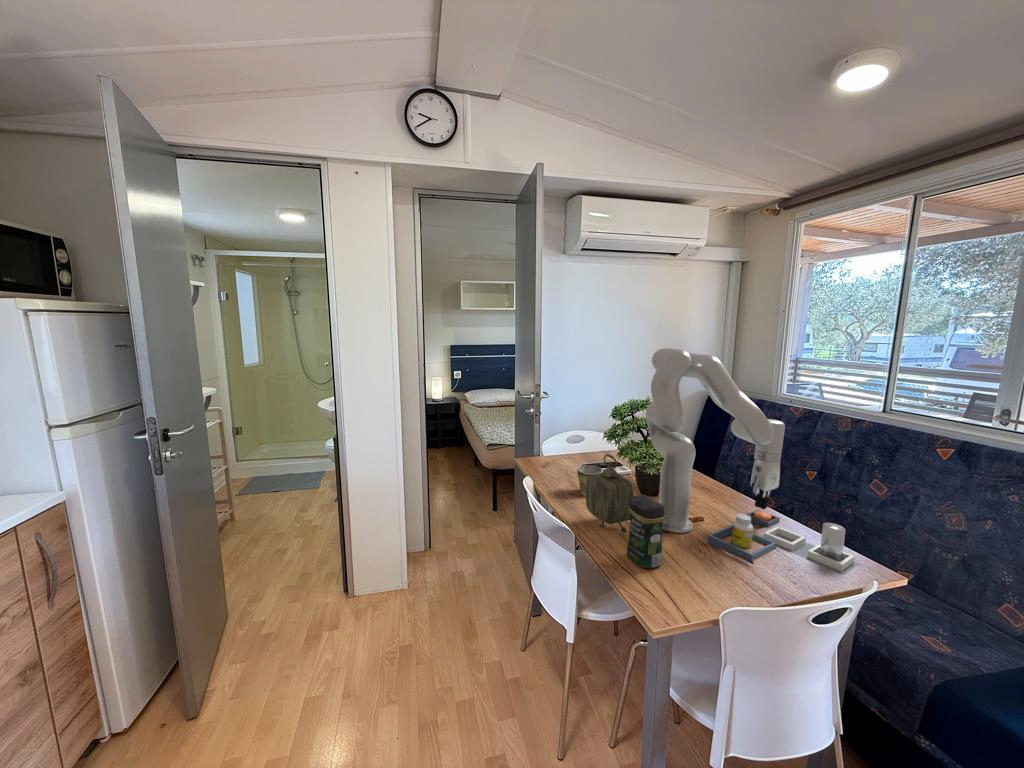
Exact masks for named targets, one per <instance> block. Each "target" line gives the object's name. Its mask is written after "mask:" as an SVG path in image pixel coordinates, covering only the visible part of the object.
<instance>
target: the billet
mask: <svg viewBox="0 0 1024 768" xmlns="http://www.w3.org/2000/svg"><path fill="white" fill-rule="evenodd" d="M846 530H847V529H846V528H845V527H844V526H842V525H839V524H837V523H833V522H823V523H822V530H821V536H820V537H821V539H820V543H821V546H820V555H823V556H825V557H828V558H830V559H833V560H835V561H838V562H841V561H842V556H843V552H844V546H845V540H846V539H845V537H846Z"/></svg>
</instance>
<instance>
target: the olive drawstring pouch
mask: <svg viewBox="0 0 1024 768" xmlns="http://www.w3.org/2000/svg"><path fill="white" fill-rule="evenodd" d="M607 457H609V458H611V459H612V460H613V461H614V463H615V466H612V463H611V462H610V463H607V462H606V458H607ZM603 462H604V464H605V465H606V468H603V469H604V470H602V473H597V474H591V475H590V476H589V477H588V479H587V486H586V496H585V502H586V503H585V506H586V510H587V511H588V512H589V513H590V514H591V515H592V516H593V517H595V518H596V519H598V520H599V521H601V523H600V524H599V528H600V529H602V530H603V529H604V528H605V524H604V523H606V524H609V525H614V524H617V525H619V527H620V528H621V529H620V531H621V533H623V534H625V533H626V532H627V529H626V528H625V527H623V525H622V523H623V522H626V521H627V522H628V521H630V511H629V506H630V500H631V498H632V497H633V496H634V488H633V484H632V482H631V481H630V479H627V478H626V477H625V476H623V475H621V474H620V473H618V472H617V470H616V468H617V466H618V461H617V459H616V458H615V457H614V456H613V455H611V454H605V455H604V456H603Z"/></svg>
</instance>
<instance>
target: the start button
mask: <svg viewBox="0 0 1024 768" xmlns="http://www.w3.org/2000/svg"><path fill="white" fill-rule="evenodd" d="M771 515H772V514H771ZM771 515H770V513H769V512H766V511H762V510H760V511H756V512H754V517H757V518H759V519H762V520H764V521H767V522H768V521H770V520H771Z"/></svg>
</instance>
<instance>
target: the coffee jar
mask: <svg viewBox="0 0 1024 768" xmlns="http://www.w3.org/2000/svg"><path fill="white" fill-rule="evenodd" d="M629 511H630V520H629V530H628V531H629V532H628V540H627V550H626V554H627V557H629V559H631V560H632V562H633V563H635V564H636V565H638V567H640V568H642V569H650V570H651V569H656V568H659V567H660V566H661V565H662V564H663V543H662V542H663V529H662V525H663V521H664V518H665V510H664V506H663V505H662V504H660V503H659V501H657V500H656V499H654V498H651V497H650V496H647V495H646V494H637V495H633V497H632V498H631V500H630V506H629Z"/></svg>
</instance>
